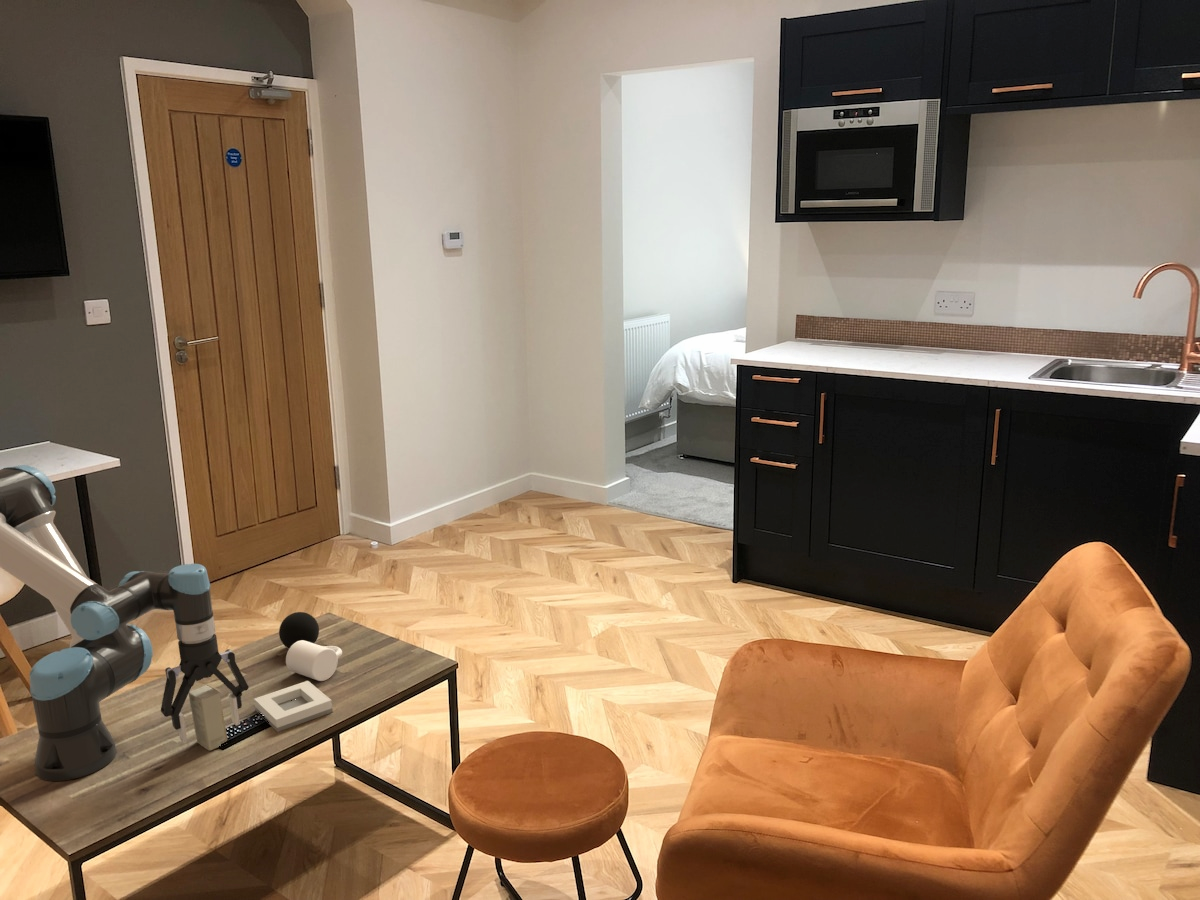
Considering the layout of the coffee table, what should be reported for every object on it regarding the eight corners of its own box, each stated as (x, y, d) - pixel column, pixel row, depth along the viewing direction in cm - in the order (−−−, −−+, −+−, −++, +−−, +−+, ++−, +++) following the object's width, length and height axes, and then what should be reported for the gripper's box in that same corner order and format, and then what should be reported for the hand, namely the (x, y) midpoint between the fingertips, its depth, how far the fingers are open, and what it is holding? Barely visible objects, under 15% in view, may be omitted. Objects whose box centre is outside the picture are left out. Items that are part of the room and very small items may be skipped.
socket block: (277, 732, 215) (276, 719, 214) (255, 710, 224) (254, 698, 224) (332, 712, 223) (331, 700, 222) (309, 692, 232) (307, 680, 232)
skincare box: (228, 743, 211) (221, 692, 208) (208, 752, 207) (201, 700, 204) (214, 733, 215) (207, 683, 212) (194, 742, 211) (187, 691, 209)
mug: (314, 686, 235) (310, 656, 233) (287, 676, 241) (283, 647, 239) (351, 667, 245) (349, 637, 243) (325, 658, 250) (322, 629, 248)
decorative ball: (302, 637, 263) (298, 603, 260) (328, 645, 257) (325, 610, 255) (273, 652, 254) (268, 616, 252) (299, 660, 249) (295, 624, 247)
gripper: (144, 659, 195) (159, 758, 200) (257, 626, 209) (268, 719, 215) (134, 647, 201) (149, 743, 206) (244, 616, 215) (255, 707, 220)
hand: (210, 731), depth 210 cm, fingers open, 10 cm apart
